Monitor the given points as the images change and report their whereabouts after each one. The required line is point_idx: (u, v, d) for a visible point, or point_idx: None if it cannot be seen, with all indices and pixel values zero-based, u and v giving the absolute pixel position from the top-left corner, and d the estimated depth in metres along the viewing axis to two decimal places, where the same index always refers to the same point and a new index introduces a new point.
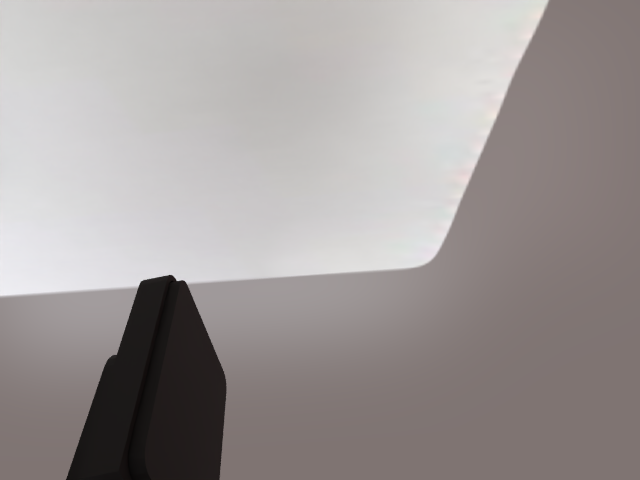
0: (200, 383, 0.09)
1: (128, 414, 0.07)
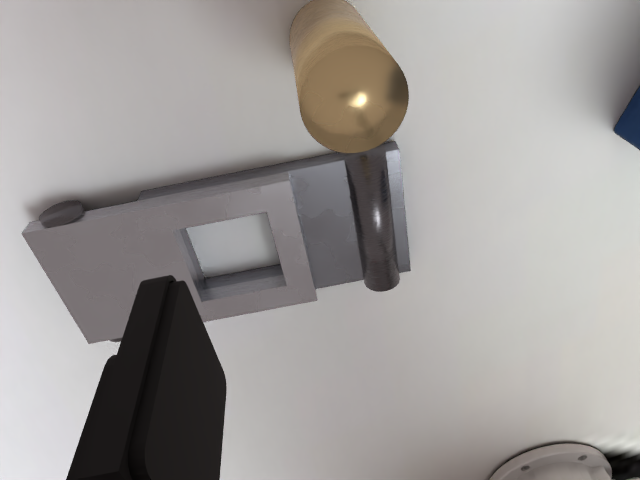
0: (200, 383, 0.09)
1: (128, 414, 0.07)
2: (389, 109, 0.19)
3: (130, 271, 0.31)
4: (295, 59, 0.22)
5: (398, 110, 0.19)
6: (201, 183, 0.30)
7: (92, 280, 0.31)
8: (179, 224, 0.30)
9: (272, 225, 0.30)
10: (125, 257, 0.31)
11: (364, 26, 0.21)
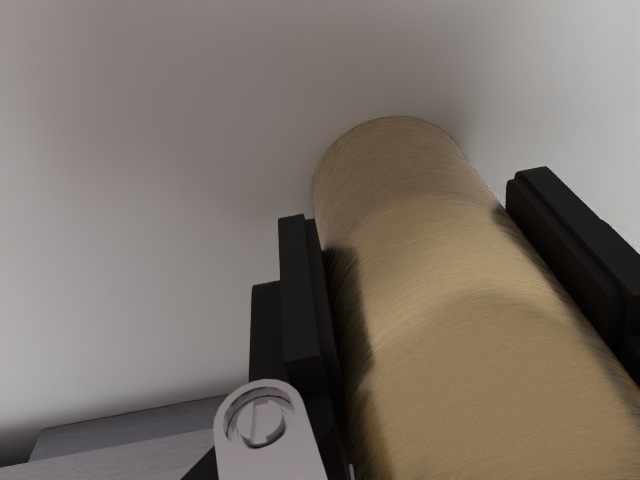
0: None
1: (309, 316, 0.08)
2: None
3: None
4: (342, 346, 0.08)
5: None
6: (146, 422, 0.17)
7: None
8: None
9: None
10: None
11: (542, 276, 0.07)
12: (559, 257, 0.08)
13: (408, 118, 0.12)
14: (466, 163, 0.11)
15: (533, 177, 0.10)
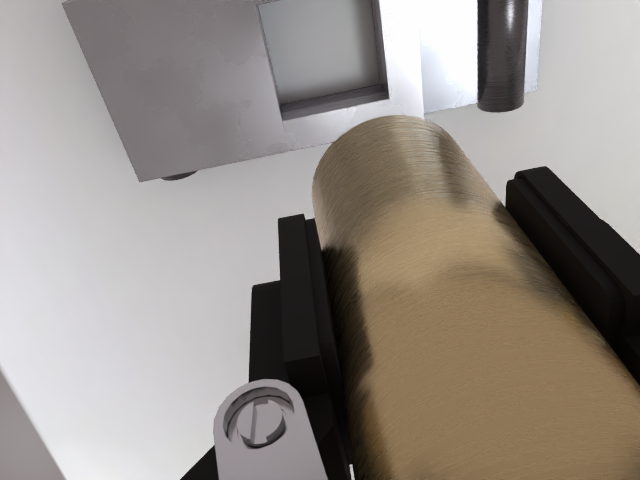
0: None
1: (309, 316, 0.08)
2: None
3: (197, 70, 0.25)
4: (342, 345, 0.08)
5: None
6: None
7: (148, 84, 0.25)
8: None
9: (382, 1, 0.24)
10: (192, 47, 0.24)
11: (542, 274, 0.07)
12: (559, 257, 0.08)
13: (409, 117, 0.12)
14: (466, 161, 0.11)
15: (533, 177, 0.10)
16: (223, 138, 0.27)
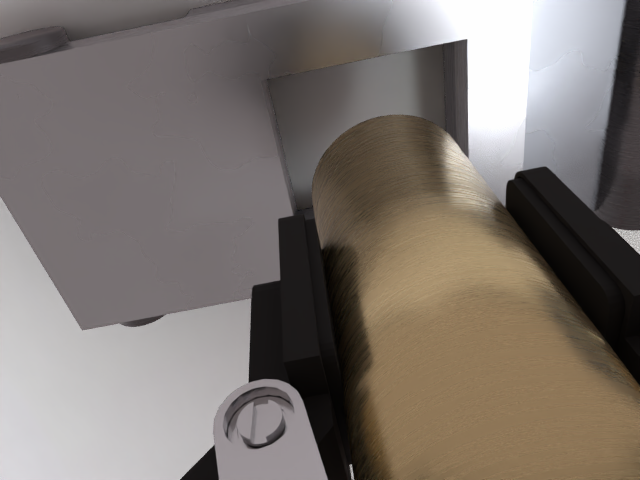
0: None
1: (310, 316, 0.08)
2: None
3: (166, 178, 0.15)
4: (342, 345, 0.08)
5: None
6: None
7: (87, 198, 0.15)
8: (277, 65, 0.14)
9: (472, 73, 0.14)
10: (157, 145, 0.15)
11: (542, 273, 0.07)
12: (559, 257, 0.08)
13: (408, 116, 0.12)
14: (466, 161, 0.11)
15: (533, 177, 0.10)
16: (209, 271, 0.17)
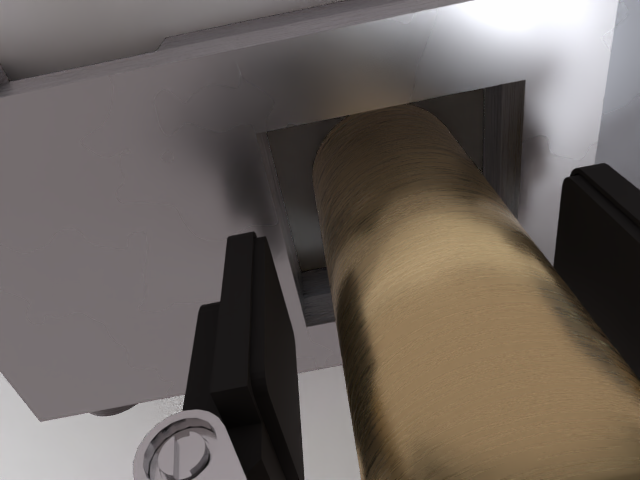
0: (282, 331, 0.10)
1: (243, 342, 0.07)
2: None
3: (136, 252, 0.12)
4: (341, 306, 0.09)
5: None
6: (330, 8, 0.11)
7: (37, 276, 0.12)
8: (277, 114, 0.10)
9: (529, 122, 0.11)
10: (123, 213, 0.11)
11: (520, 239, 0.08)
12: (629, 256, 0.08)
13: (403, 105, 0.13)
14: (456, 145, 0.12)
15: (594, 174, 0.09)
16: None
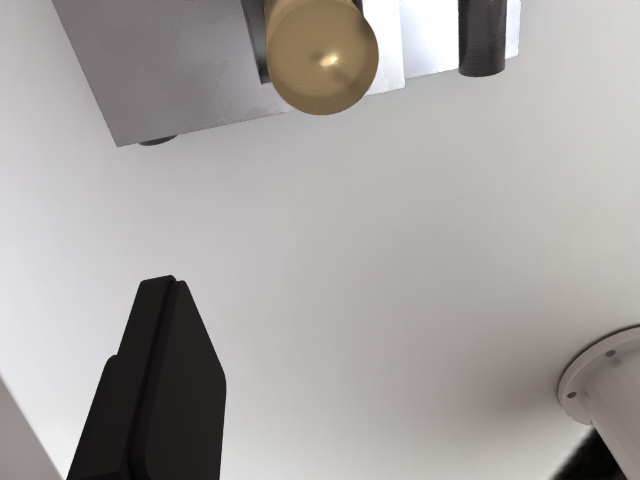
0: (200, 383, 0.09)
1: (128, 414, 0.07)
2: (359, 68, 0.19)
3: (173, 29, 0.24)
4: (265, 21, 0.21)
5: (369, 69, 0.19)
6: None
7: (123, 43, 0.24)
8: None
9: None
10: (168, 5, 0.24)
11: None
12: None
13: None
14: None
15: None
16: (201, 101, 0.26)
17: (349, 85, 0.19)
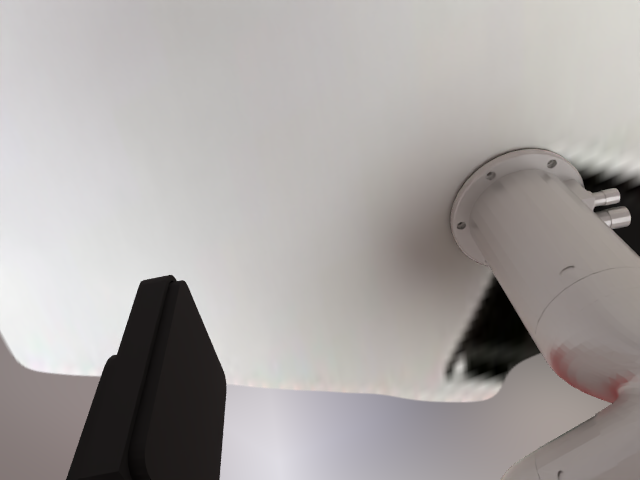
0: (200, 383, 0.09)
1: (128, 414, 0.07)
2: None
3: None
4: None
5: None
6: None
7: None
8: None
9: None
10: None
11: None
12: None
13: None
14: None
15: None
16: None
17: None
